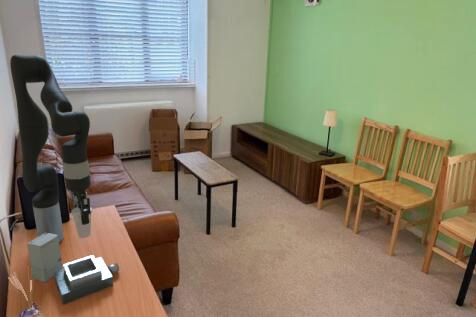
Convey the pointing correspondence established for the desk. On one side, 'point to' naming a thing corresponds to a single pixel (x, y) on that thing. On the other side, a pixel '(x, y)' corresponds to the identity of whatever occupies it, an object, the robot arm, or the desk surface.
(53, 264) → the skincare box
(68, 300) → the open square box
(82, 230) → the smoothie
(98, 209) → the desk surface
